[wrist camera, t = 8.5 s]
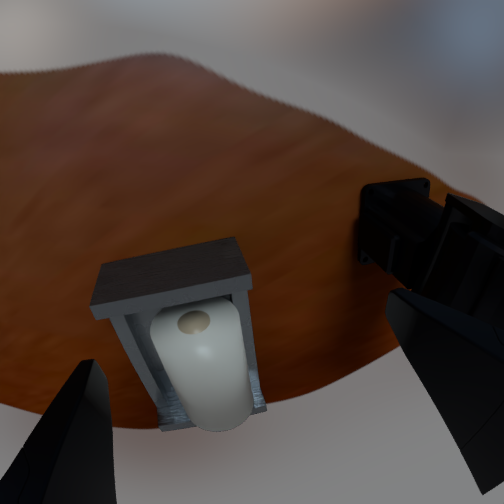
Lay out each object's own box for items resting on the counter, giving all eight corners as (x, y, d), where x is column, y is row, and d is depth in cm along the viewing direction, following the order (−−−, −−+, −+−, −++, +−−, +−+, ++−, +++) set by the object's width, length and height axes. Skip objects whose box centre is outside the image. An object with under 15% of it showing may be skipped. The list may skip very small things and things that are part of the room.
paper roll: (135, 320, 19) (179, 372, 15) (204, 282, 22) (258, 320, 18) (173, 400, 23) (213, 445, 20) (224, 366, 26) (268, 403, 22)
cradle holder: (234, 236, 20) (250, 273, 17) (253, 372, 28) (266, 411, 24) (101, 264, 19) (89, 306, 15) (159, 391, 26) (162, 431, 22)
